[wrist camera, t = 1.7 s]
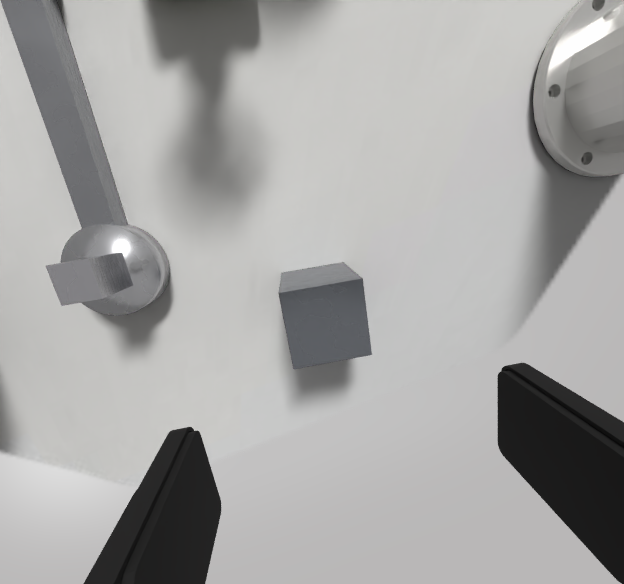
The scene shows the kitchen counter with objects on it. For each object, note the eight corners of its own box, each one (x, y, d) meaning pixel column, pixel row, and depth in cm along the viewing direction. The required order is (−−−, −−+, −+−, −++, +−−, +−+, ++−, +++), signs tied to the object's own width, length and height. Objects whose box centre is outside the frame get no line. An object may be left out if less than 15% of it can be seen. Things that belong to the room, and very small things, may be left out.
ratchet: (37, -190, 16) (-89, -392, 11) (179, 299, 23) (146, 323, 18) (-83, -176, 16) (-272, -374, 10) (98, 313, 23) (40, 342, 18)
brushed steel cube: (343, 262, 23) (362, 278, 17) (351, 320, 25) (371, 354, 19) (281, 272, 23) (278, 293, 17) (292, 330, 25) (293, 369, 18)
